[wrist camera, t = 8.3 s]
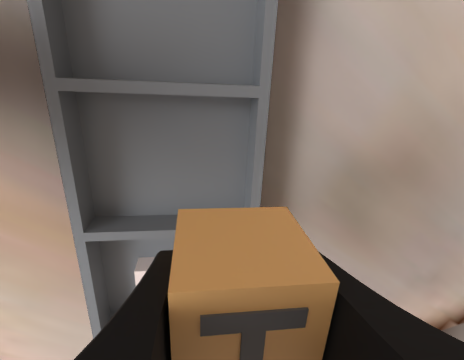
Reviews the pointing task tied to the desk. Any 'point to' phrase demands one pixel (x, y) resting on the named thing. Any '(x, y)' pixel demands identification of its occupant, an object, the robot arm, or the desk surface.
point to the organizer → (151, 122)
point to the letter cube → (247, 287)
